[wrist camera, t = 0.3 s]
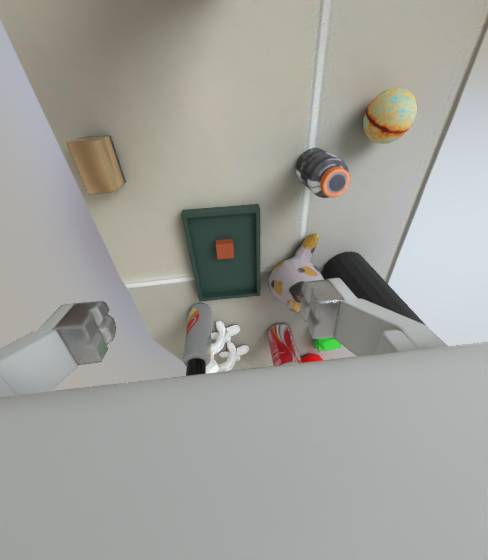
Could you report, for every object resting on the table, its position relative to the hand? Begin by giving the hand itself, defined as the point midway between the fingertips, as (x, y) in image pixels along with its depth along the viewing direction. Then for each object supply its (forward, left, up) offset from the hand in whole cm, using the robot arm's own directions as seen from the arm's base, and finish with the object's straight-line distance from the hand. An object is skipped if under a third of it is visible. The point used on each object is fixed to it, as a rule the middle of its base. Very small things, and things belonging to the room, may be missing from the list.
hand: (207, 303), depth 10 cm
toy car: (+51, +27, -38) cm, 69 cm away
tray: (+21, 0, -38) cm, 43 cm away
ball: (-3, +27, -38) cm, 47 cm away
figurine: (+24, +16, -38) cm, 48 cm away
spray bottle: (+37, -8, -38) cm, 53 cm away
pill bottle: (+4, +17, -38) cm, 42 cm away
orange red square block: (+18, 0, -37) cm, 41 cm away
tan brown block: (+1, -18, -38) cm, 42 cm away
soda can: (+48, +13, -38) cm, 62 cm away
